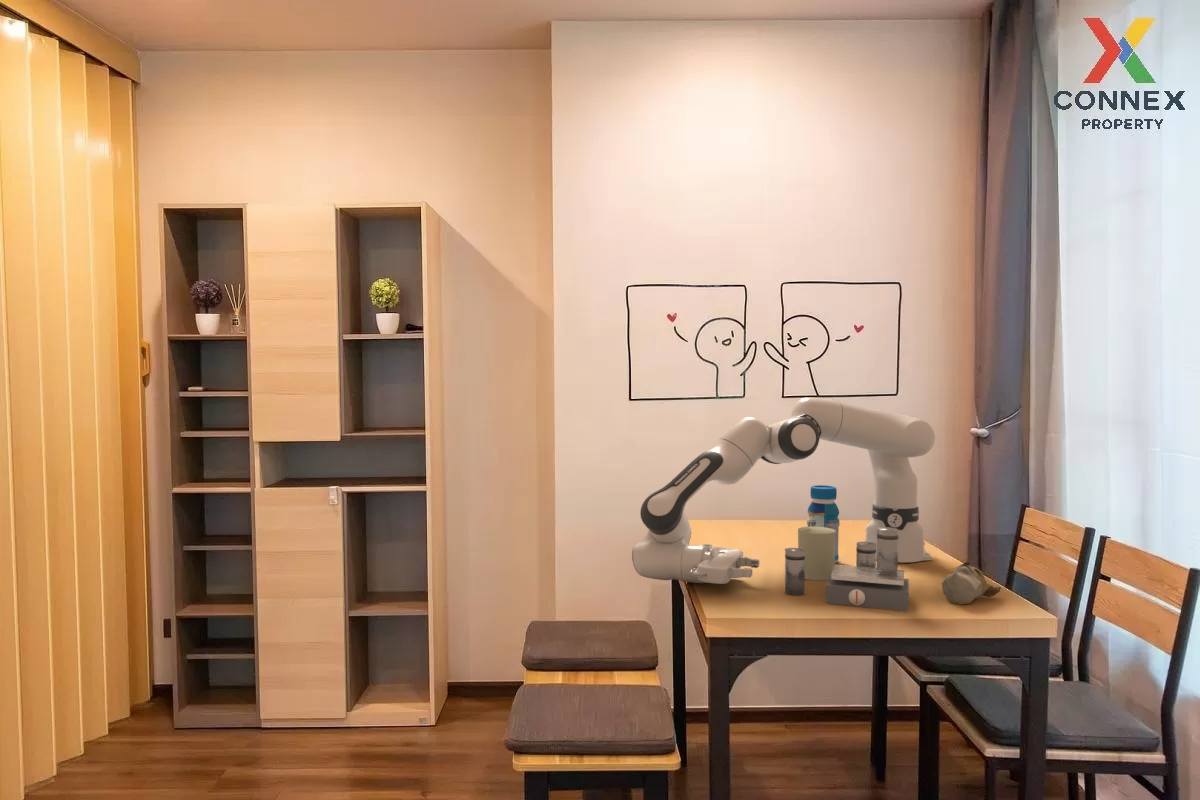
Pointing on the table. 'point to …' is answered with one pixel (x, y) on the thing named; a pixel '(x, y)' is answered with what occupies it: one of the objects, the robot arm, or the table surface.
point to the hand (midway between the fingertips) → (755, 568)
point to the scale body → (868, 594)
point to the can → (817, 551)
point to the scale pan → (865, 575)
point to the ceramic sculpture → (967, 585)
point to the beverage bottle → (824, 510)
